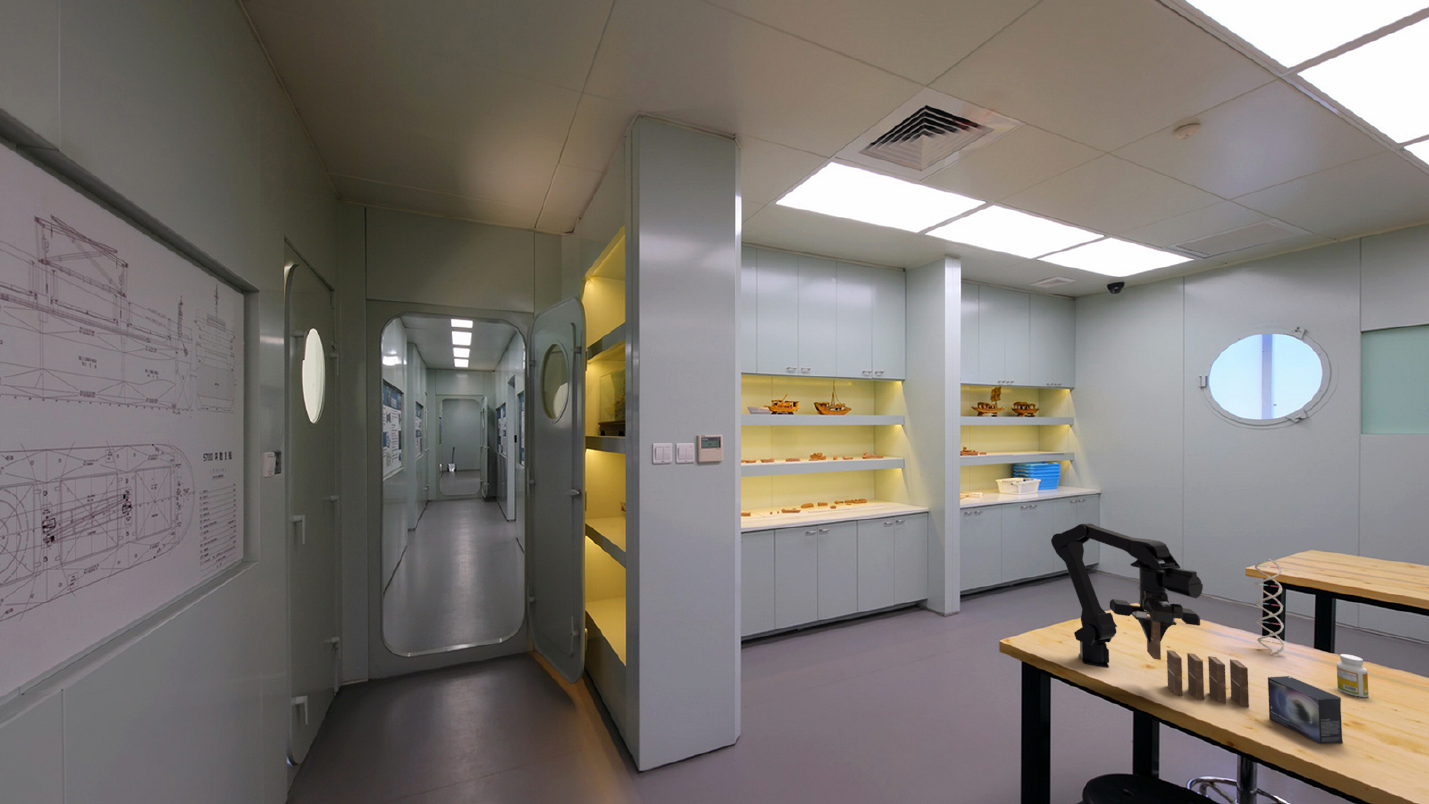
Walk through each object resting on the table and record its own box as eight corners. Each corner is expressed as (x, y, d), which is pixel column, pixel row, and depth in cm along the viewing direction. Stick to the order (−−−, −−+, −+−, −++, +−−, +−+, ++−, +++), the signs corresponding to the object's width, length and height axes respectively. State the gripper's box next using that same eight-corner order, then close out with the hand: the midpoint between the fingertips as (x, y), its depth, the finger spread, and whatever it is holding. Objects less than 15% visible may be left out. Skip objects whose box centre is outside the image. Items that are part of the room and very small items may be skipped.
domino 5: (1240, 705, 135) (1239, 666, 136) (1231, 696, 140) (1229, 659, 140) (1249, 707, 135) (1247, 668, 135) (1239, 698, 139) (1237, 660, 140)
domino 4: (1218, 702, 137) (1217, 663, 137) (1209, 693, 142) (1208, 655, 142) (1226, 703, 136) (1225, 664, 137) (1217, 694, 141) (1216, 657, 141)
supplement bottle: (1357, 689, 144) (1356, 654, 145) (1374, 699, 139) (1373, 662, 140) (1332, 686, 146) (1330, 651, 146) (1347, 695, 141) (1346, 659, 141)
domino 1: (1153, 658, 142) (1152, 622, 143) (1147, 651, 147) (1146, 616, 147) (1160, 660, 142) (1160, 623, 142) (1154, 652, 146) (1153, 616, 147)
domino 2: (1175, 694, 141) (1174, 657, 141) (1167, 686, 145) (1166, 649, 146) (1182, 695, 140) (1181, 658, 140) (1175, 687, 145) (1174, 650, 145)
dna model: (1284, 659, 163) (1281, 563, 165) (1255, 652, 168) (1252, 558, 170) (1286, 653, 167) (1283, 559, 169) (1258, 646, 172) (1254, 555, 174)
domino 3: (1196, 698, 139) (1195, 660, 139) (1188, 689, 143) (1187, 652, 144) (1204, 699, 138) (1203, 661, 139) (1195, 690, 143) (1194, 654, 143)
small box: (1266, 718, 129) (1265, 675, 130) (1290, 717, 130) (1288, 675, 130) (1319, 744, 119) (1317, 698, 119) (1344, 743, 119) (1342, 697, 120)
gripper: (1120, 589, 142) (1121, 647, 141) (1209, 600, 134) (1210, 661, 133) (1108, 578, 152) (1109, 632, 151) (1190, 588, 144) (1191, 645, 143)
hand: (1153, 642), depth 145 cm, fingers closed on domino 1, 2 cm apart
